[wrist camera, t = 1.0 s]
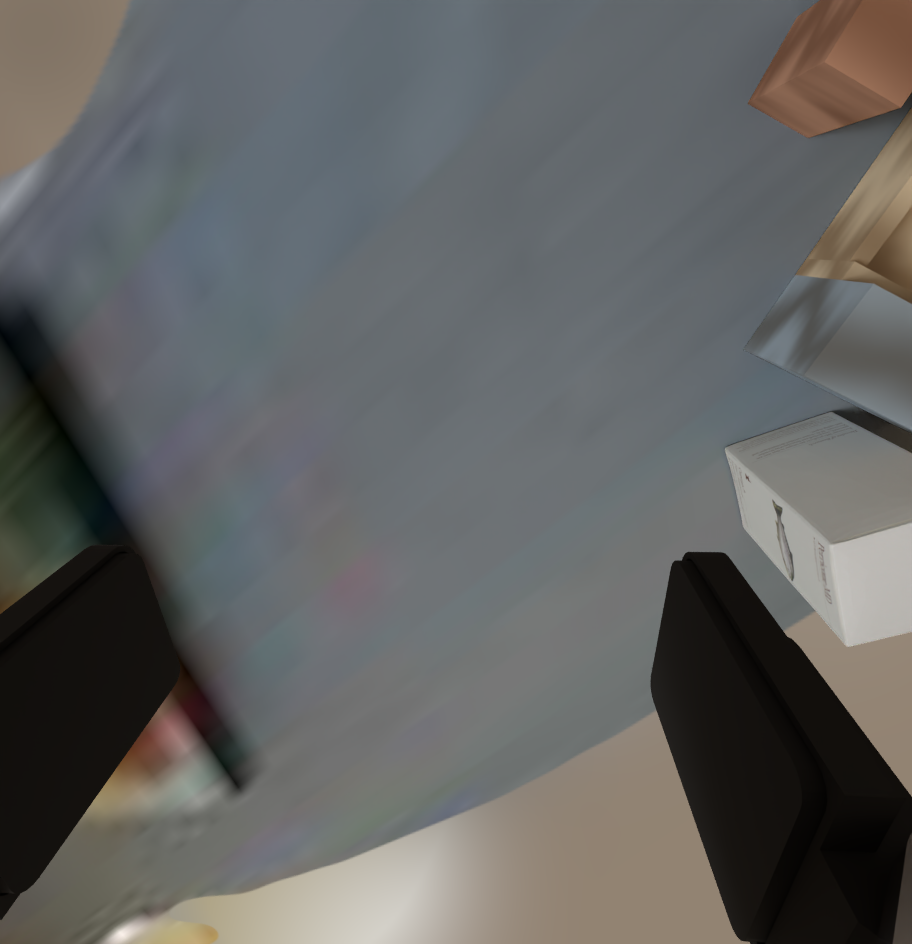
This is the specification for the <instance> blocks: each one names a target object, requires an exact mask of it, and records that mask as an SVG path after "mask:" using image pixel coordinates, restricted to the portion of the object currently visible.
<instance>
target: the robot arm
mask: <svg viewBox="0 0 912 944" xmlns="http://www.w3.org/2000/svg"><path fill="white" fill-rule="evenodd" d="M179 673H180V664H179V660H178V658H177V655H176V652H175V649H174V646H173V643H172V641H171V638H170V635H169V632H168V629H167V627H166V624H165V621H164V618H163V615H162V612H161V610H160V607H159V604H158V601H157V598H156V596H155V593H154V590H153V587H152V584H151V581H150V579H149V576H148V573H147V570H146V567H145V564H144V562H143V560H142V558H141V557H140V556H139V555H138V554H135V552H134V550H133V549H132V548H130V547H129V546H125V545H93V546H90V547H88V548H86V549H84V550H83V551H82V552H81V553H79V554H78V555H77V556H75V557H74V558H73V559H71V560H70V561H69V562H68V563H66V564H65V565H64V566H62V567H61V568H60V569H58V570H57V571H56V572H55V573H53V574H52V575H51V576H49V577H48V578H47V579H45V580H44V581H43V582H42V583H40V584H39V585H38V586H36V587H35V588H34V589H32V590H31V591H30V592H29V593H27V594H26V595H25V596H23V597H22V598H21V599H19V600H18V601H17V602H16V603H14V604H13V605H12V606H10V607H9V608H8V609H6V610H5V611H4V612H3V613H1V614H0V920H2V918H3V917H4V916H5V914H6V913H7V911H8V910H9V909H10V907H11V906H12V904H13V903H14V902H15V900H16V899H17V897H18V896H19V895H20V893H22V892H24V891H26V890H27V889H29V888H30V887H31V886H32V885H33V884H34V883H35V882H36V881H37V879H38V878H39V877H40V875H41V874H42V873H43V871H44V870H45V868H46V867H47V866H48V864H49V863H50V861H51V860H52V858H53V857H54V856H55V854H56V853H57V851H58V850H59V849H60V847H61V846H62V844H63V843H64V841H65V840H66V839H67V837H68V836H69V834H70V833H71V832H72V830H73V829H74V827H75V826H76V824H77V823H78V822H79V820H80V819H81V817H82V816H83V815H84V813H85V812H86V810H87V809H88V807H89V806H90V805H91V803H92V802H93V800H94V799H95V798H96V796H97V795H98V793H99V792H100V791H101V789H102V788H103V786H104V785H105V783H106V782H107V781H108V779H109V778H110V776H111V775H112V774H113V772H114V771H115V769H116V768H117V766H118V765H119V764H120V762H121V761H122V759H123V758H124V757H125V755H126V754H127V752H128V751H129V749H130V748H131V747H132V745H133V744H134V742H135V741H136V740H137V738H138V737H139V735H140V734H141V732H142V731H143V730H144V728H145V727H146V725H147V724H148V723H149V721H150V720H151V718H152V717H153V715H154V714H155V713H156V711H157V710H158V708H159V707H160V706H161V704H162V703H163V701H164V700H165V698H166V697H167V696H168V694H169V693H170V691H171V690H172V689H173V687H174V686H175V684H176V682H177V680H178V677H179ZM651 693H652V698H653V701H654V704H655V707H656V710H657V713H658V715H659V718H660V721H661V724H662V727H663V730H664V733H665V736H666V739H667V742H668V744H669V747H670V750H671V753H672V756H673V759H674V762H675V764H676V768H677V770H678V773H679V776H680V779H681V782H682V785H683V788H684V791H685V793H686V796H687V799H688V802H689V805H690V808H691V811H692V814H693V817H694V820H695V822H696V825H697V828H698V831H699V834H700V837H701V840H702V842H703V845H704V848H705V851H706V854H707V857H708V860H709V863H710V866H711V869H712V871H713V874H714V877H715V880H716V883H717V886H718V889H719V891H720V894H721V897H722V900H723V903H724V906H725V909H726V912H727V915H728V917H729V920H730V923H731V926H732V928H733V930H734V932H735V934H736V935H737V937H738V938H739V939H740V940H741V941H748V942H750V944H912V797H911V795H910V794H909V793H908V791H907V790H906V789H905V787H904V786H903V785H902V783H901V782H900V781H899V779H898V778H897V776H896V775H895V774H894V773H893V771H892V770H891V768H890V767H889V766H888V764H887V763H886V762H885V760H884V759H883V758H882V756H881V755H880V754H879V752H878V751H877V750H876V748H875V747H874V746H873V745H872V743H871V742H870V740H869V739H868V738H867V736H866V735H865V734H864V732H863V731H862V730H861V728H860V727H859V726H858V724H857V723H856V722H855V720H854V719H853V718H852V716H851V715H850V714H849V712H848V711H847V710H846V708H845V707H844V706H843V704H842V703H841V702H840V700H839V699H838V698H837V696H836V695H835V694H834V692H833V691H832V690H831V688H830V687H829V686H828V684H827V683H826V682H825V680H824V679H823V677H822V676H821V675H820V674H819V672H818V671H817V669H816V668H815V667H814V665H813V664H812V663H811V662H810V660H809V659H808V657H807V656H806V655H805V653H804V652H803V651H802V649H801V648H800V647H799V646H798V645H797V644H796V643H795V642H794V641H793V640H792V639H791V638H789V637H787V636H786V635H785V633H784V632H783V630H782V629H781V627H780V626H779V625H778V623H777V622H776V621H775V619H774V618H773V617H772V615H771V614H770V613H769V611H768V610H767V608H766V607H765V606H764V604H763V603H762V602H761V600H760V599H759V598H758V596H757V595H756V594H755V592H754V591H753V589H752V588H751V587H750V585H749V584H748V583H747V581H746V580H745V579H744V577H743V576H742V574H741V573H740V572H739V570H738V569H737V568H736V566H735V565H734V564H733V562H732V561H731V560H730V558H729V557H728V556H727V555H726V554H725V553H722V552H687V553H685V555H684V556H683V559H682V561H674V562H673V564H672V566H671V571H670V576H669V582H668V587H667V592H666V598H665V603H664V609H663V614H662V619H661V625H660V630H659V636H658V641H657V647H656V652H655V657H654V663H653V668H652V674H651Z"/></svg>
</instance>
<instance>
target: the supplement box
mask: <svg viewBox="0 0 912 944" xmlns="http://www.w3.org/2000/svg"><path fill="white" fill-rule="evenodd" d="M725 452H726V456H727V459H728V462H729V466H730V469H731V473H732V477H733V481H734V485H735V489H736V493H737V498H738V503H739V508H740V512H741V518H742V524H743V528H744V529H745V530H746V531H747V532H748V534H749V535H750V536H751V537H752V538H753V539H754V541H755V542H756V543H757V544H758V545H759V546H760V548H761V549H762V550H763V551H764V552H765V554H766V555H767V556H768V557H769V558H770V559H771V560H772V562H773V563H774V564H775V565H776V566H777V567H778V568H779V570H780V571H781V572H782V573H783V574H784V575H785V577H786V578H787V579H788V580H789V581H790V582H791V584H792V585H793V586H794V587H795V588H796V589H797V590H798V591H799V593H800V594H801V595H802V596H803V597H804V598H805V599H806V601H807V602H808V603H809V604H810V605H811V606H812V607H813V608H814V609H815V611H816V612H817V613H818V614H819V615H820V616H821V618H822V619H823V620H824V621H825V622H826V623H827V625H828V626H829V627H830V628H831V629H832V630H833V631H834V633H835V634H836V635H837V636H838V637H839V638H840V639H841V641H842V642H843V643H844V644H845V645H846V646H847V647H850V646H855V645H859V644H863V643H868V642H872V641H876V640H880V639H884V638H888V637H892V636H897V635H901V634H905V633H909V632H912V453H911V452H909V451H907V450H905V449H903V448H901V447H899V446H897V445H895V444H893V443H891V442H889V441H887V440H885V439H883V438H881V437H879V436H878V435H876V434H874V433H872V432H870V431H868V430H866V429H864V428H862V427H860V426H858V425H856V424H854V423H852V422H850V421H848V420H846V419H845V418H843V417H841V416H839V415H837V414H835V413H833V412H829V413H825V414H822V415H819V416H816V417H813V418H810V419H807V420H804V421H801V422H798V423H795V424H792V425H789V426H786V427H783V428H780V429H777V430H774V431H771V432H768V433H765V434H762V435H759V436H756V437H753V438H750V439H747V440H744V441H741V442H738V443H735V444H733V445H730V446H728V447H726V448H725Z"/></svg>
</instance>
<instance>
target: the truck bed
mask: <svg viewBox="0 0 912 944" xmlns="http://www.w3.org/2000/svg"><path fill="white" fill-rule="evenodd" d="M743 350H745V351H747V352H749V353H751V354H753V355H755V356H757V357H759V358H761V359H763V360H765V361H767V362H769V363H771V364H773V365H775V366H777V367H779V368H781V369H783V370H785V371H787V372H789V373H791V374H793V375H795V376H797V377H799V378H801V379H803V380H805V381H807V382H809V383H811V384H813V385H815V386H817V387H819V388H821V389H823V390H825V391H827V392H829V393H831V394H833V395H835V396H837V397H839V398H841V399H843V400H845V401H847V402H849V403H851V404H853V405H855V406H857V407H859V408H861V409H863V410H865V411H867V412H869V413H871V414H873V415H875V416H877V417H879V418H881V419H883V420H885V421H887V422H889V423H891V424H893V425H895V426H897V427H899V428H902V429H904V430H906V431H908V432H910V433H912V108H911V109H910V110H909V112H908V113H907V115H906V116H905V118H904V119H903V121H902V122H901V123H900V125H899V126H898V128H897V129H896V131H895V132H894V133H893V135H892V136H891V138H890V139H889V141H888V142H887V144H886V145H885V146H884V148H883V149H882V151H881V152H880V154H879V155H878V156H877V158H876V159H875V161H874V162H873V164H872V165H871V167H870V168H869V169H868V171H867V172H866V174H865V175H864V177H863V178H862V179H861V181H860V182H859V184H858V185H857V187H856V188H855V190H854V191H853V192H852V194H851V195H850V197H849V198H848V200H847V201H846V203H845V204H844V205H843V207H842V208H841V210H840V211H839V213H838V214H837V215H836V217H835V218H834V220H833V221H832V223H831V224H830V226H829V227H828V228H827V230H826V231H825V233H824V234H823V236H822V237H821V238H820V240H819V241H818V243H817V244H816V246H815V247H814V249H813V250H812V251H811V253H810V254H809V256H808V257H807V259H806V260H805V261H804V263H803V264H802V266H801V267H800V269H799V270H798V272H797V273H796V274H795V276H794V277H793V279H792V280H791V282H790V283H789V284H788V286H787V287H786V289H785V290H784V292H783V293H782V295H781V296H780V297H779V299H778V300H777V302H776V303H775V305H774V306H773V308H772V309H771V310H770V312H769V313H768V315H767V316H766V318H765V319H764V320H763V322H762V323H761V325H760V326H759V328H758V329H757V331H756V332H755V333H754V335H753V336H752V338H751V339H750V341H749V342H748V343H747V345H746V346H745V348H744V349H743Z"/></svg>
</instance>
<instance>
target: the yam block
mask: <svg viewBox="0 0 912 944" xmlns="http://www.w3.org/2000/svg"><path fill="white" fill-rule="evenodd" d="M911 92H912V0H820V1H818V2H817V3H816V4H814V5H813V6H812V7H810V8H809V9H808V10H806V11H805V12H803V13H802V14H801V15H799V16H798V17H797V18H796V20H795V22H794V24H793V25H792V27H791V29H790V31H789V32H788V34H787V36H786V38H785V39H784V41H783V43H782V45H781V46H780V48H779V50H778V52H777V53H776V55H775V57H774V58H773V60H772V62H771V64H770V65H769V67H768V69H767V71H766V72H765V74H764V76H763V78H762V79H761V81H760V83H759V85H758V86H757V88H756V90H755V92H754V93H753V95H752V97H751V99H750V100H749V102H748V104H749V105H751V106H753V107H754V108H756V109H758V110H760V111H761V112H763V113H765V114H767V115H768V116H770V117H772V118H774V119H775V120H777V121H779V122H781V123H783V124H784V125H786V126H788V127H790V128H791V129H793V130H795V131H797V132H798V133H800V134H802V135H804V136H805V137H807V138H810V137H813V136H816V135H819V134H822V133H825V132H828V131H831V130H834V129H837V128H840V127H843V126H846V125H849V124H853V123H856V122H859V121H862V120H865V119H868V118H871V117H874V116H877V115H880V114H883V113H886V112H889V111H892V110H895V109H898V108H901V107H902V106H903V104H904V103H905V101H906V100H907V98H908V97H909V95H910V94H911Z"/></svg>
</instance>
